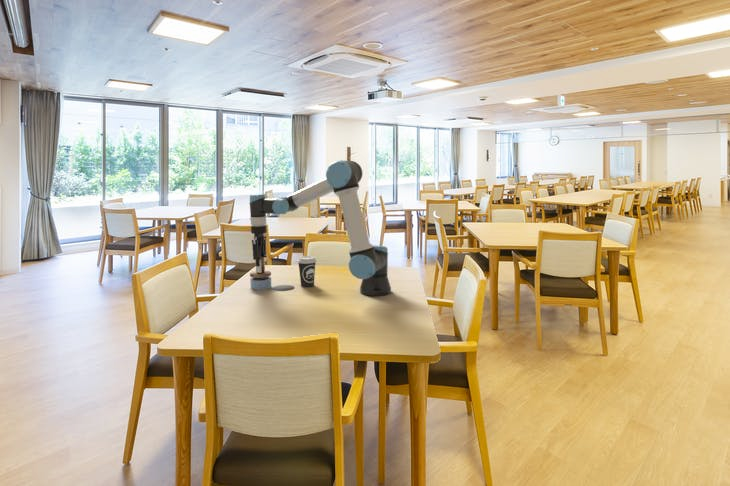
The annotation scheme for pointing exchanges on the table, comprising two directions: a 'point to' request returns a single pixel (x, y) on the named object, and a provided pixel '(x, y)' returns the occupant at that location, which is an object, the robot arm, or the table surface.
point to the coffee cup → (307, 270)
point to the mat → (283, 288)
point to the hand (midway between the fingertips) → (260, 271)
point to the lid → (263, 273)
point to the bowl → (260, 283)
